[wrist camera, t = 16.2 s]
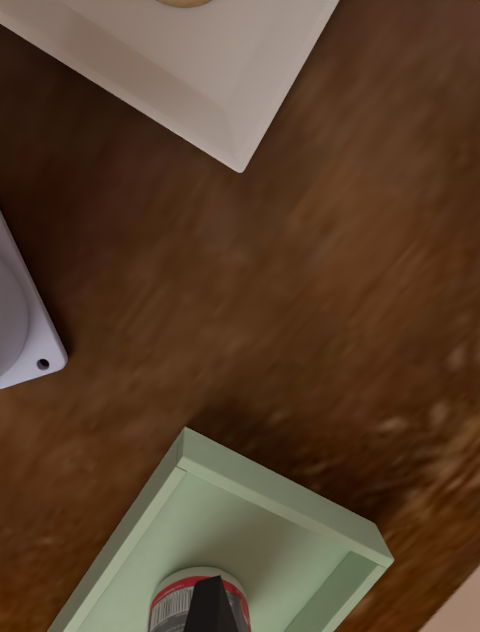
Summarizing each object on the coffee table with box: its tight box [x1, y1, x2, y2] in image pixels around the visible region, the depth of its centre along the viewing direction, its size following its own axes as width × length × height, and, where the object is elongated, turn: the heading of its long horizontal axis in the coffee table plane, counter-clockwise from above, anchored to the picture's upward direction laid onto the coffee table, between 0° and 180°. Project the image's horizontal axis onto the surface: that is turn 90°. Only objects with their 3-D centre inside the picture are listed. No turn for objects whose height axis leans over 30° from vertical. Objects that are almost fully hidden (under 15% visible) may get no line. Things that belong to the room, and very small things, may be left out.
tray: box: [47, 427, 394, 632], centre depth 23 cm, size 17×12×2 cm
